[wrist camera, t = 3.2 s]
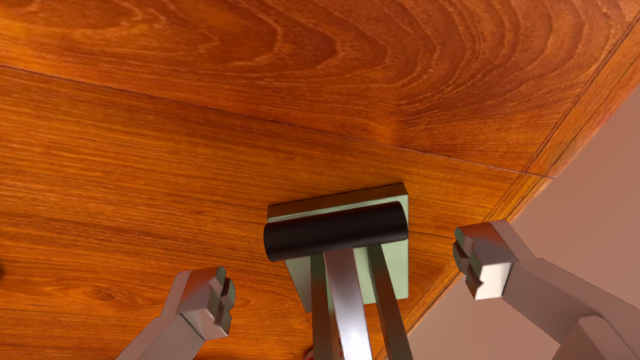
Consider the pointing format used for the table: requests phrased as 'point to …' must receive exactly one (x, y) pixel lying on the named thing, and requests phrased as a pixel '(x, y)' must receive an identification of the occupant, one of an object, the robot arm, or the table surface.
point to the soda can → (310, 356)
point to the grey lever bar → (340, 258)
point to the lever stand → (372, 266)
